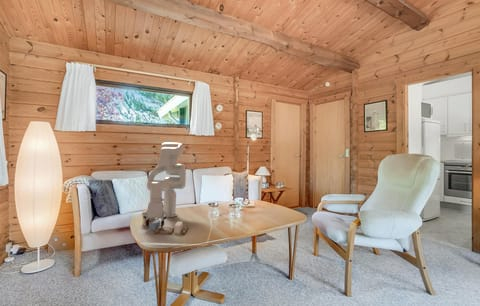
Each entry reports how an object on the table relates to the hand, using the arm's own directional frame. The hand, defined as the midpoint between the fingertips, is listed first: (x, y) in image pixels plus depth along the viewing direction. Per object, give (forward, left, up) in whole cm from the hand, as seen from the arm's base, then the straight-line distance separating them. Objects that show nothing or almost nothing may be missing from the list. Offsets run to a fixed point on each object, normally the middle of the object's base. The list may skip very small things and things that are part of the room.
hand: (154, 226), depth 159 cm
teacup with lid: (-13, -7, -3) cm, 14 cm away
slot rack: (+4, +12, -2) cm, 13 cm away
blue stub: (-1, 0, -3) cm, 3 cm away
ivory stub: (+4, +17, -1) cm, 17 cm away
